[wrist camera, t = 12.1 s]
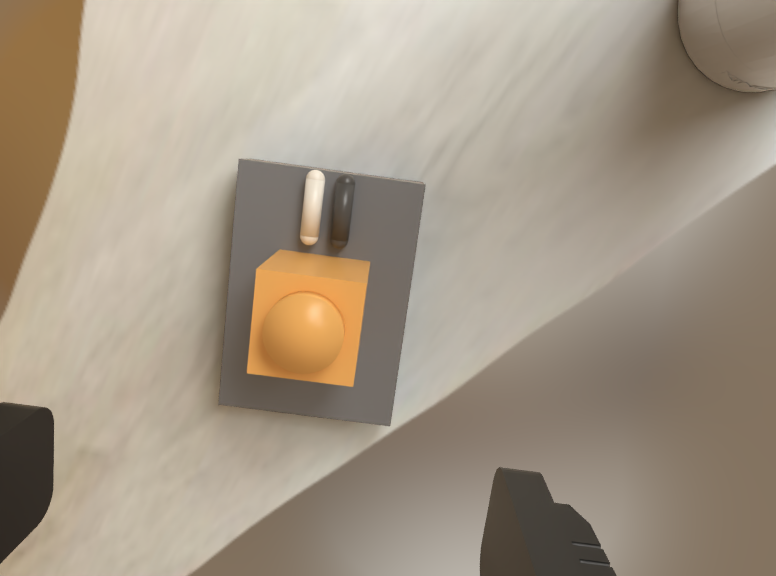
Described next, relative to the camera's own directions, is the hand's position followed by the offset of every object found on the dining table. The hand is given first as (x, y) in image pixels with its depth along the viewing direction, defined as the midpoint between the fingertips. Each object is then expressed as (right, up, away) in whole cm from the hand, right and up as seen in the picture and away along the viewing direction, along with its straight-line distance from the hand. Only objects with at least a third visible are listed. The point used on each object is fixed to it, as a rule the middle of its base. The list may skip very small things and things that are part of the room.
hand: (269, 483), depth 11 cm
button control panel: (-2, +3, +26) cm, 26 cm away
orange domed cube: (-2, +3, +23) cm, 23 cm away
